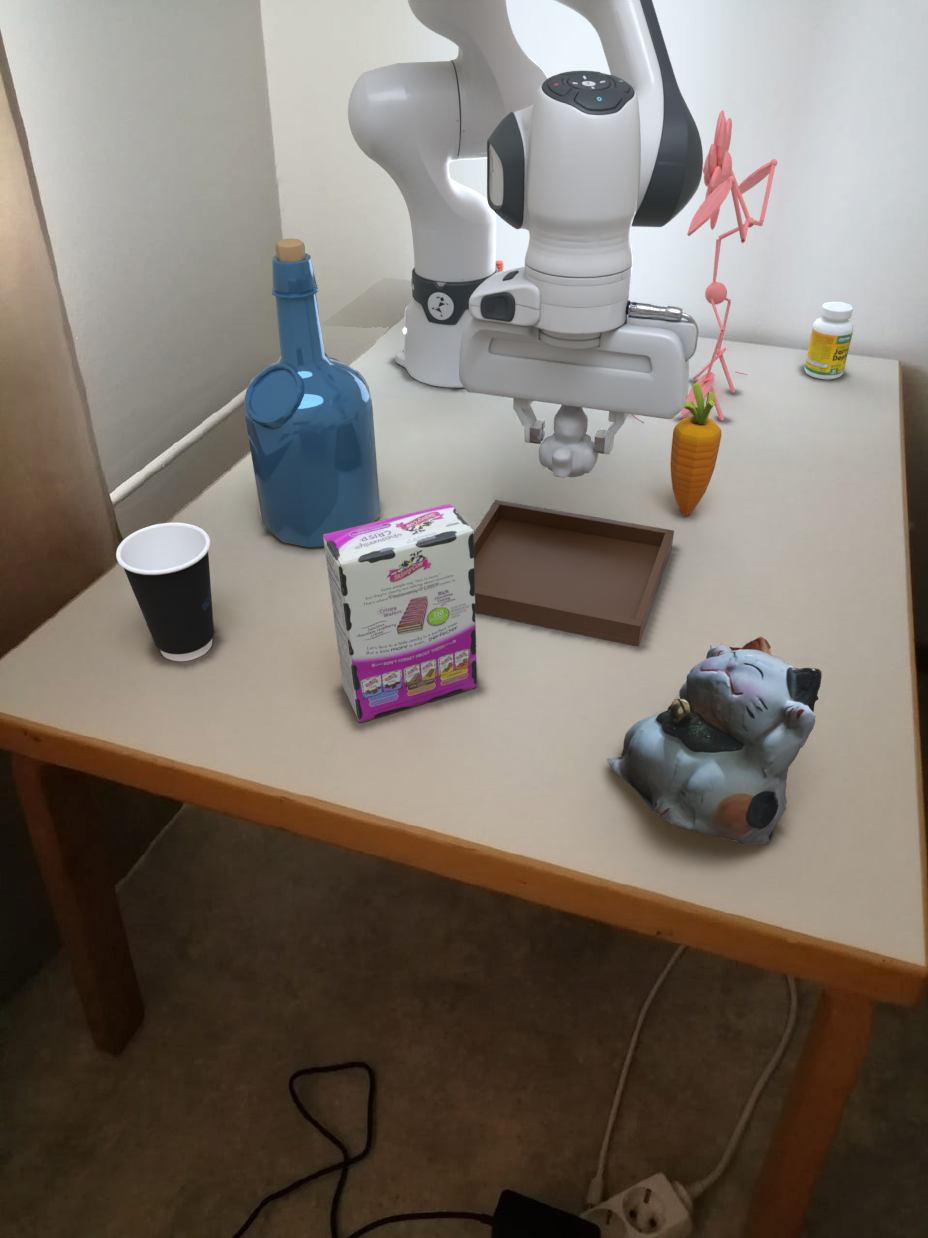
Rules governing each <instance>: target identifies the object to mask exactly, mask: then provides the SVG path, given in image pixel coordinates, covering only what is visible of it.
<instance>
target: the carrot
mask: <svg viewBox="0 0 928 1238" xmlns="http://www.w3.org/2000/svg"><path fill="white" fill-rule="evenodd" d="M692 387H693V392H694V395H695V399H696V403H697V405H695V406H694V404H693V402H691V401H688V402H686V403H685V405H684V408H686V409H688V410H689V411H690V412H691V413H690V414H691V415H692V416H684V417H683V418H681V420H680V421H679V422H678V423H676V424H675V425H674V428H673V430H672V439H671V451H670V478H671V489H672V493H673V496H674V499H675V502H676V504H677V507H678V510H679V512H680V513H681V514H682V515H683V516H685V517H687V516H689V515H690V514H691V513H692V512H693V511H694V510H695V508H696V507H697V506H698V505H699V503H700V502H701V500H702V499H703V497H704V495H705V493H706V492H707V489H708V487H709V484H710V483H711V480H712V476H713V474H714V471H715V468H716V465H717V460H718V456H719V455H718V454H719V450H720V445H721V440H722V428H721V427H720V426H719V425H718V423H716V421H714V419H712V418H709V415H710V414H711V410H712V409H713V407H715V405H714V404H715V403H714V402H713V400H714V394H713V393H712V392H708V394H707V397H706V399H705V400H706V401H705V400H704V399H703V394H702V390H701V387H700V384H698V383H696V382H695V383H694V384H692V386H691V388H692Z"/></svg>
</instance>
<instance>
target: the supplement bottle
mask: <svg viewBox="0 0 928 1238" xmlns="http://www.w3.org/2000/svg"><path fill="white" fill-rule="evenodd" d="M853 310H854V307H853V305H851V304H849V303H847V302H844V301H833V300H832V301H827V302H824V303H823V304H822V306H821V310H820V317H818V318H816V319H815V321H814V322H813V325H812V329H811V333H810V338H809V344H808V348H807V354H806V359H805V363H804V372H805V373H806V375H808V376H809V377H811V378H815V379H819V380H836V379H838V378H840V377H842V375H843V374H844V371H845V367H846V363H847V358H848V354H849V351H850V347H851V346H850V345H851V342H852V338H853V333H854V323H853V322H852V321H851V320H850V319H851V318H852V315H853Z"/></svg>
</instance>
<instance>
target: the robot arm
mask: <svg viewBox="0 0 928 1238" xmlns="http://www.w3.org/2000/svg"><path fill="white" fill-rule="evenodd" d="M553 1H554V2H556V3H558V4H561V5H563V6H565V7H567V8H569V9H570V10H573V11H574V12H576V13H578V14H579V15H580V16H581V17H583V18H584V19H585V20H586V21H587V22H588V23H589V24H590V25H591V26H592V27H593V29H594V30H595V32H596V33H597V36H598V37H599V41H600V44H601V47H602V49H603V53H604V58H605V60H606V63H607V67H608V70H609V73H610V74H608V73H605V72H600V71H597V70H596V71H594V70H571V71H564V72H560V73H558V74H554V75H552V76H550V77H549V76H548V74H547V73H546V72H545V71H544V69H543V68H542V67H541V66H540V65H539V64H538V63H536V62H535V61H534V60H533V59H532V58H531V57H530V56H529V55H528V54H527V52H526V51H525V50H524V49H523V47H522V46H521V45H520V43H519V41H518V39H517V37H516V36H515V35H516V34H515V33H514V31H513V28H512V25H511V22H510V18H509V13H508V7H507V0H407V3H408V6H409V8H410V11H411V12H412V14H413V15H414V17H415V18H416V19H417V21H419V22H420V23H421V24H422V25H423V26H424V27H426V29H429V30H430V31H432V33H433V32H434V33H435V34H437V35H439V36H441V37H443V38H445V39H447V40H449V41H450V42H451V43H453V44H455V45H456V47H458V52H457V57H456V58H455V59H450V60H442V61H441V60H440V61H415V62H396V63H393V64H388V65H385V66H381V67H376V68H374V69H371V70H366V71H364V72H362V73H361V74H360V75H359V77H358V78H357V80H356V81H355V83H354V85H353V86H352V88H351V91H350V94H349V99H348V105H347V120H348V125H349V129H350V133H351V135H352V137H353V139H354V141H355V143H356V145H357V146H358V147H359V149H360V150H361V152H363V154H364V155H365V156H367V158H369V159H370V160H372V161H373V162H375V163H376V164H377V165H378V166H379V167H381V168H382V169H383V170H384V171H385V172H386V173H387V174H388V175H389V177H390V178H391V179H392V180H393V182H394V183H395V185H396V186H397V188H398V190H399V191H400V194H401V195H402V197H403V200H404V201H405V204H406V207H407V211H408V216H409V219H410V220H409V221H410V227H411V236H412V245H413V260H414V261H413V262H414V267H413V269H412V270H411V280H410V287H411V294H412V298H413V299H412V301H411V302H410V303H408V304H407V306H406V307H405V308H404V318H403V319H404V320H403V321H404V322H403V328H402V333H403V349H402V350H401V351H398V352H397V353H396V355H395V363H396V364H398V365H399V366H401V367H403V368H405V369H406V371H407V373H408V374H409V376H410V377H412V379H414V380H415V381H418V382H420V383H423V384H426V385H430V386H435V387H441V388H458V389H459V388H464V389H465V390H466V391H467V392H468V393H472V394H480V395H481V394H482V395H489V396H496V397H503V398H510V399H512V401H513V403H512V405H513V407H512V409H513V410H514V412H515V414H516V416H517V417H518V419H519V421H520V423H521V424H522V426H523V427H524V437H523V438H524V443H528V444H536V445H541V444H542V442H543V440H544V439H545V433H546V431H545V428H546V420H543V419H538V418H537V416H536V414H535V412H534V410H533V407H532V406H531V405H532V404H533V402H540V403H547V404H554V405H560V406H561V405H568V406H575V407H582V409H591V410H599V411H605V412H608V421H609V422H610V423H611V424H610V425H609V427H608V428H601V427H599V428H598V430H597V431H596V433H595V435H594V444H595V446H594V453H598V454H600V455H601V454H602V455H607V456H608V455H609V456H610V455H611V454H612V451H613V448H614V442H615V436H616V434H617V433H618V432H619V430H620V429H621V428H622V426H623V425H624V424H625V422H626V420H627V418H628V417H629V415H631V414H633V415H634V416H642V417H649V418H655V419H664V420H672V419H674V418H675V417H677V416H678V415H679V414H681V412H682V409H683V408H684V405H685V403H686V400H687V396H688V394H689V385H690V384H689V383H690V359H692V358H693V356H695V355H694V354H695V353H696V352H697V347H698V341H699V340H698V339H699V326H698V323H697V322H696V320H695V319H694V317H692V316H691V315H690V314H688V313H686V312H684V309H683V308H682V307H678V306H675V305H674V306H673V305H667V306H663V305H656V304H652V303H646V302H645V303H644V302H636V301H630V297H631V286H632V276H633V275H632V274H633V265H634V264H633V262H634V254H633V248H632V242H631V231H632V230H631V229H632V227H635V228H638V227H639V228H663V227H664V226H666V225H667V224H668V223H670V222H671V221H672V220H673V219H675V218H676V217H677V216H678V215H679V214H680V213H681V212H682V211H683V210H684V209H685V207H687V205H688V204H689V203H690V201H691V200H692V199H693V198H694V196H695V194H696V193H697V191H698V190H699V187H700V184H701V181H702V177H703V176H702V175H703V167H704V153H703V145H702V139H701V135H700V132H699V128H698V126H697V123H696V121H695V119H694V117H693V115H692V113H691V111H690V109H689V107H688V105H687V103H686V100H685V99H684V97H683V94H682V91H681V90H680V86H679V84H678V81H677V78H676V75H675V72H674V69H673V65H672V62H671V58H670V55H669V52H668V49H667V48H668V47H667V46H666V42H665V39H664V35H663V33H662V29H661V26H660V22H659V18H658V15H657V12H656V9H655V6H654V2H653V0H553ZM485 159H486V197H487V198H486V197H485V196H483V195H482V194H481V193H479V192H477V191H476V190H474V189H472V188H470V187H467V186H466V185H463V184H461V183H459V182H457V181H455V180H454V179H452V178H451V175H450V163H452V162H456V161H465V160H467V161H468V160H485ZM496 215H497V216H499V218H500V219H502V220H503V221H504V222H505V223H507V224H508V225H509V226H510V227H512V228H514V229H516V230H521V229H522V230H526V231H528V235H529V240H528V245H527V249H526V253H525V257H524V265H522V266H519V267H514V268H510V269H505V270H504V262H503V260H501V259H497V258H496V256H497V217H496ZM683 319H684V320H683Z"/></svg>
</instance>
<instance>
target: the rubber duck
mask: <svg viewBox="0 0 928 1238" xmlns="http://www.w3.org/2000/svg"><path fill="white" fill-rule="evenodd" d="M588 423H589V419H588V415H587V413H586V412H585V410H584V408H582V407H575V406H568V405H561V404H560V407H559V409H558V410H557V411H556V414H555V415H554V418H553V433H552V434H551V435H549V436H547V437H544V439H543V441H541V444H539V447H538V461H539V464H540V465H541V466H542V467H543V468H547V469H548V470H549V471H550V472H551V473H552V474H553V476H554V477H555V478H556V477H557V478H563V479H564V478H577V477H581V476H584V475H585V474H589V473H591V472H592V471H593V469H595V466H596V464H597V462H598V456H599V453H594V446H595V444H594V442H593V440H592V437H591V436H590V434H588V433H587V432H588Z"/></svg>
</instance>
